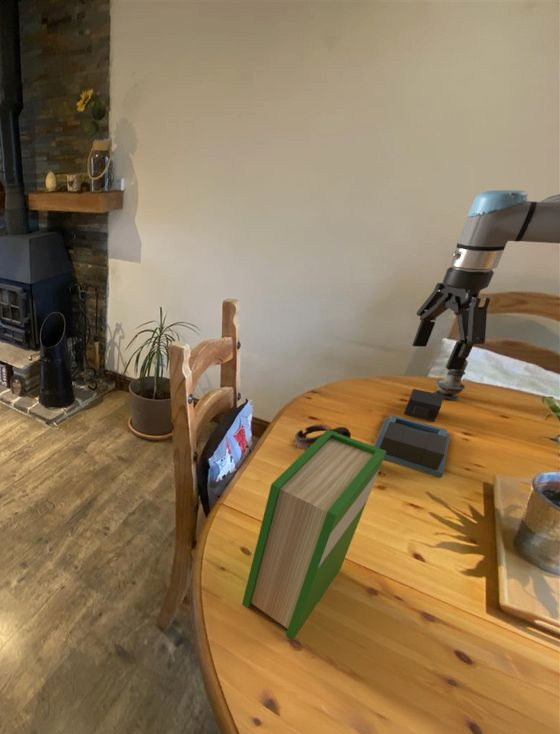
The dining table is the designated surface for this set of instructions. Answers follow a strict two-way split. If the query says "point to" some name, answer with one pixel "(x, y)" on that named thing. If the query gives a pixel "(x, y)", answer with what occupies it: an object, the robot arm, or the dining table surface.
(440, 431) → the board
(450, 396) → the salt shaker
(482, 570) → the dining table surface
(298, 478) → the hardback book
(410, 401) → the black box
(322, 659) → the dining table surface
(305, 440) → the dark brown curved piece
